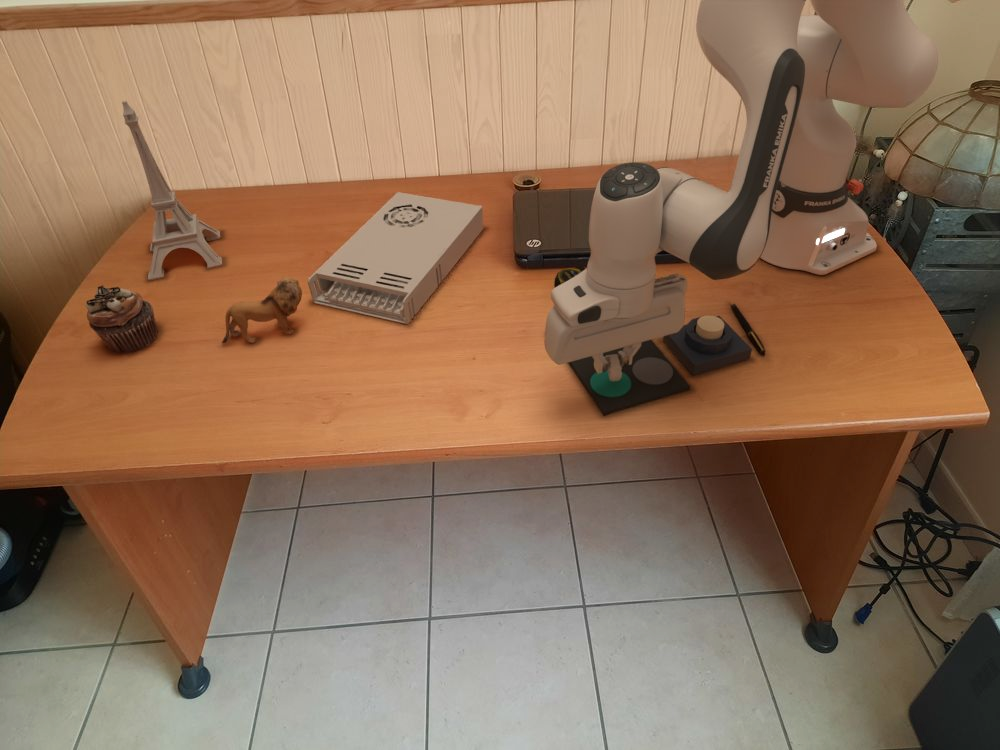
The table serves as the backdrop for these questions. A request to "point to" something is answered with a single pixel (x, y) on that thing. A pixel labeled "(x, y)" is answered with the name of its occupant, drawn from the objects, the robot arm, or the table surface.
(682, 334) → the dock
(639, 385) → the mat
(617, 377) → the smartwatch
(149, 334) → the cupcake
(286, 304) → the lion figurine
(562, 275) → the tape measure
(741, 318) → the fountain pen
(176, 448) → the table surface
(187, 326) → the table surface
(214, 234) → the eiffel tower
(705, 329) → the button
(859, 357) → the table surface
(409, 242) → the power supply unit
